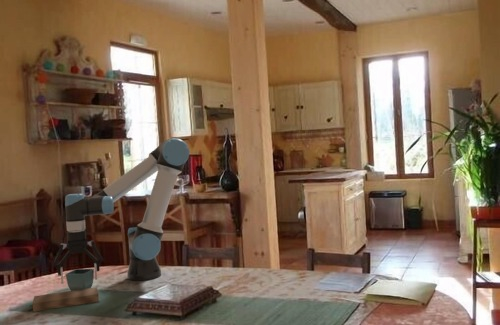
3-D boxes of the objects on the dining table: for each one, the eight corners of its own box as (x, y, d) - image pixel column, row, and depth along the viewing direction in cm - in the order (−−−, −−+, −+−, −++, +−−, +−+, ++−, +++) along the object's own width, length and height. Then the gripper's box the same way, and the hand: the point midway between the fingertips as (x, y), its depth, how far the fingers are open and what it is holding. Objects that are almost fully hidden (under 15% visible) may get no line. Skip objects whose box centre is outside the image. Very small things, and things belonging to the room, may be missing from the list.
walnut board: (97, 294, 231) (96, 287, 231) (99, 301, 219) (98, 293, 219) (34, 303, 223) (34, 296, 223) (33, 311, 212) (32, 303, 212)
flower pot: (86, 295, 231) (84, 273, 231) (66, 295, 233) (64, 274, 233) (96, 289, 240) (94, 268, 239) (77, 289, 242) (75, 269, 241)
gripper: (106, 226, 243) (109, 275, 244) (44, 232, 235) (48, 283, 236) (107, 228, 236) (110, 279, 236) (44, 234, 228) (47, 286, 229)
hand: (79, 281), depth 236 cm, fingers open, 13 cm apart
